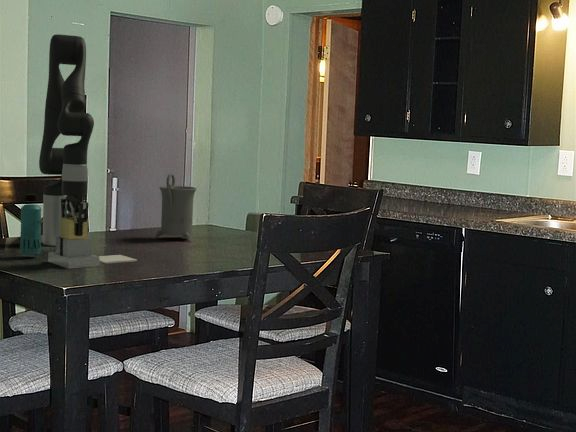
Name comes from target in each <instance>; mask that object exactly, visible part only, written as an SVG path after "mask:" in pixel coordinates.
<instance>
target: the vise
mask: <svg viewBox="0 0 576 432" xmlns="http://www.w3.org/2000/svg"><path fill="white" fill-rule="evenodd" d="M99 256H100V255H96V254H93V239H92V238H90V237H88V239H72V240H69V239H65V238H62V237H56V246H55V251H48V253H47V262H48V263H51V264H54V265H57V266H60V267H63V268H65V269H80V268H81V269H82V268H93V267H94V268H95V267H100V262H99Z"/></svg>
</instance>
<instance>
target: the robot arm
mask: <svg viewBox="0 0 576 432" xmlns="http://www.w3.org/2000/svg"><path fill="white" fill-rule="evenodd" d="M48 53H49V54H48V55H49V56H48V57H49V58H48V79H47V80H48V81H47V89H46V98H45V107H44V120H43V121H44V122H43V133H42V141H41V146H40V153H39V160H38V166H39V170H40V172H41V174H43V175H48V176H49V175H52V176H55V175H56V176H60V178H59V179H58V180H57V181H54V182H52V183H50V184H47V185H44V187H43V189H42V190H43V195H42V197H43V199H42V200H43V202H42V204H43V206H42V210H43V211H42V244H43V245H45V246H55V247H56V237H60V226H61V217H74V218H75V223H76V224H75V235H76V236H82V235H83V223H84V222H87V219H88V214H89V202H84V198H83V197H84V196H87V195H88V186H89V185H88V182H89V181H88V177H89V176H88V175H89V174H88V151H89V150H88V148H89V143H90V140H91V136H92V133H93V132H94V131H93V130H94V126H95V120H94V118H93V116H92V114H90V113H89V112H84V111H85V110H86V108H87V107H86V106H87V103H86V92H85V91H86V90H85V81H86V80H85V79H86V66H87V64H86V63H87V45H86V41H85V38H84V37H82V36H80V35H69V34H59V33H58V34H53V35H52V36H51V39H50V42H49V52H48ZM60 65H68V66H69V65H71V66H75V67H74V69H73V70H72V71H71V73H70V74H69V75H68V76H67V77H66V78H65V79H64V77H63V75H62V73H61V69H60ZM61 135H62V136H69V137H80V139H79V141H77V142H73V143H68V144H65V145H64V146H63V147H54V145H55V143H56V140H57V139H58V137H59V136H61Z"/></svg>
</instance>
